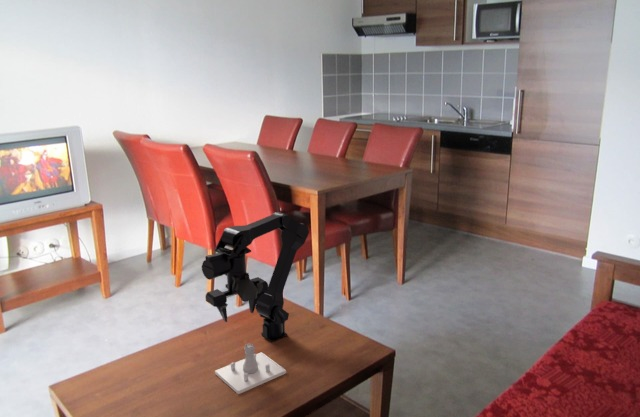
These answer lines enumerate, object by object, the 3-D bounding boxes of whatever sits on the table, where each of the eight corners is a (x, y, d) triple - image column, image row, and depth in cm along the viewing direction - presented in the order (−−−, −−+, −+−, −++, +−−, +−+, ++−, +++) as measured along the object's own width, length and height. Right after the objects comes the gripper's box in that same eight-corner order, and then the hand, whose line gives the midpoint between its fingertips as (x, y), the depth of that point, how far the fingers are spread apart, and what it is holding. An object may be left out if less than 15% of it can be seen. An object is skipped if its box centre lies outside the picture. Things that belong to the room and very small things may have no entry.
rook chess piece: (239, 370, 156) (238, 346, 154) (250, 364, 160) (249, 340, 158) (250, 376, 154) (249, 351, 152) (261, 369, 157) (260, 344, 155)
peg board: (261, 355, 167) (261, 346, 166) (286, 373, 157) (285, 364, 156) (215, 373, 157) (214, 364, 156) (238, 394, 147) (237, 384, 146)
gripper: (222, 286, 149) (225, 337, 153) (277, 269, 161) (279, 317, 165) (203, 274, 158) (206, 322, 162) (257, 259, 169) (259, 305, 173)
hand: (238, 317), depth 165 cm, fingers open, 9 cm apart
